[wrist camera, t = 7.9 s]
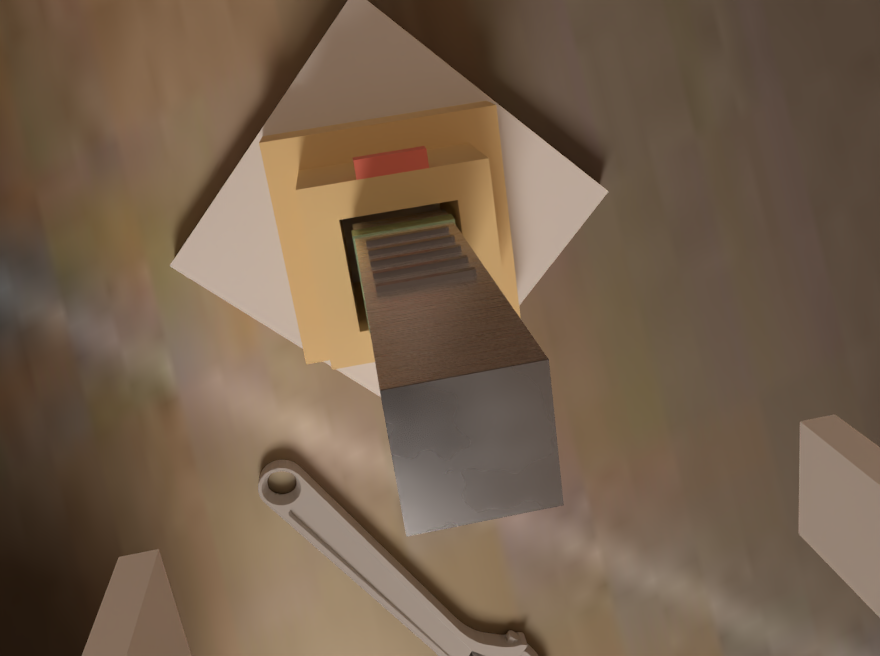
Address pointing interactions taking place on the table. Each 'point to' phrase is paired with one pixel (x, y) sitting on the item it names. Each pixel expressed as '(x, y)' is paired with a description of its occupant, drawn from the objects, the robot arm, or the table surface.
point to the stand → (377, 188)
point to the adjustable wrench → (379, 569)
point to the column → (455, 378)
